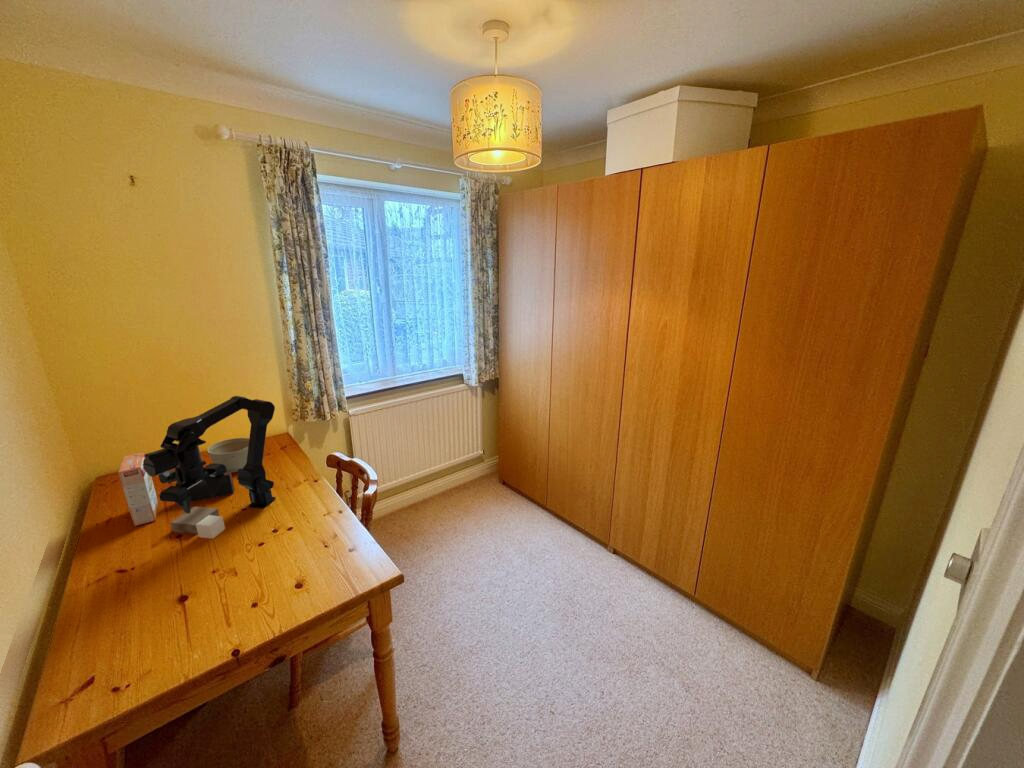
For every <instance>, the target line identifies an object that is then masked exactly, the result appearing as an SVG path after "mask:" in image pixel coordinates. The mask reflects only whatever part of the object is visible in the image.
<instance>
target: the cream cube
mask: <svg viewBox="0 0 1024 768" xmlns="http://www.w3.org/2000/svg"><path fill="white" fill-rule="evenodd" d="M196 528H197V532H198V534H197V535H198V538H201V539H202V538H203V539H212V540H213V539H214V538H216V537H217V536H218V535H219V534H221V533H222V532H224V530H226V526H225V522H224V518H223V516H221V515H219V516H213V515H208V516H207V517H205V518H204V519H203V520H201V521H200V522H198V523H197V524H196Z"/></svg>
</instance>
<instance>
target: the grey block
mask: <svg viewBox="0 0 1024 768" xmlns="http://www.w3.org/2000/svg"><path fill="white" fill-rule="evenodd" d="M208 515H213V516H220V513H219V509H218V508H214V507H202V506H193V507H192V508H191V511H190V513H189V514H187V513H185V512H184V513H182V514H181V515H180V516H178V517H177V518H175V519H173V520H171V521H170V527H171V529H172V533H179V534H180V533H182V534H190V535H198V532H197V528H196V524H197V523H198V522H200V521H201V520H203V519H204V518H205V517H207V516H208Z"/></svg>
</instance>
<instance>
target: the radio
mask: <svg viewBox="0 0 1024 768" xmlns="http://www.w3.org/2000/svg"><path fill="white" fill-rule="evenodd" d="M232 457H233V456H232ZM230 458H231V457H230ZM228 459H229V458H228ZM226 460H227V459H226ZM223 461H225V460H223ZM221 462H222V461H221ZM219 463H220V462H219ZM217 464H218V463H217ZM183 484H184V483H183V482H181V483H177V482H175V484H174V486H181V485H183ZM235 490H236V489H235V484H234V479H233V476H232V473H231V472H225V473H224V476H223V477H222V479H221V481H220V483H219V486H218V488H217V491H216V494H215V496H214V497H211V496H210V494H209V490H208V487H207V483H206V481H205V480H204V479H203V480H202V481H201V482H199V483H197V484H196V485H194V486H192V487H191V488H189V489H188V491H189V494H188V495H190V498H191V502H192V503H193V502H197V501H203V500H208V499H214V498H220V497H224V496H229V495H233V494H234V493H235Z"/></svg>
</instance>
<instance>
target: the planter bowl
mask: <svg viewBox="0 0 1024 768" xmlns="http://www.w3.org/2000/svg"><path fill="white" fill-rule="evenodd" d="M249 438H250V437H249ZM249 438H248V437H235V438H228V439H224V440H221V441H218V442H216V443H213V444H212V445H210V446H209V447H208V448H207V450H206V451H207V453H208V456H209V459H210V460H211V463H215V464H217V463H218V464H223V465H225V466H226V470H227V472H231V474H233V473H238V470H239V469H243V467H244V466H245V465H246V462H247V454H248V446H249ZM232 456H233V457H232ZM230 457H231V458H230ZM228 458H229V459H228ZM226 459H227V460H226ZM223 460H225V461H223ZM221 461H222V462H221ZM219 462H220V463H219Z"/></svg>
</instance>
